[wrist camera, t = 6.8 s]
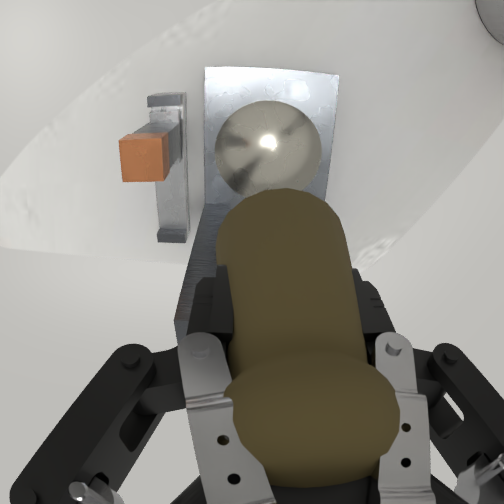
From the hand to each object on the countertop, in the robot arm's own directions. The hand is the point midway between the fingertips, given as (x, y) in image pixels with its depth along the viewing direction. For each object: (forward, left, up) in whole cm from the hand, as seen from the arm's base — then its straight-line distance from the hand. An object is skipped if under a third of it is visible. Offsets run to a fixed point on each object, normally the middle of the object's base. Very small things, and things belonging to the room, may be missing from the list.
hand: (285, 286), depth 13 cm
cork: (0, 0, -3) cm, 3 cm away
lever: (-1, -9, -20) cm, 22 cm away
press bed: (0, 0, -21) cm, 21 cm away
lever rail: (+2, -9, -21) cm, 23 cm away
